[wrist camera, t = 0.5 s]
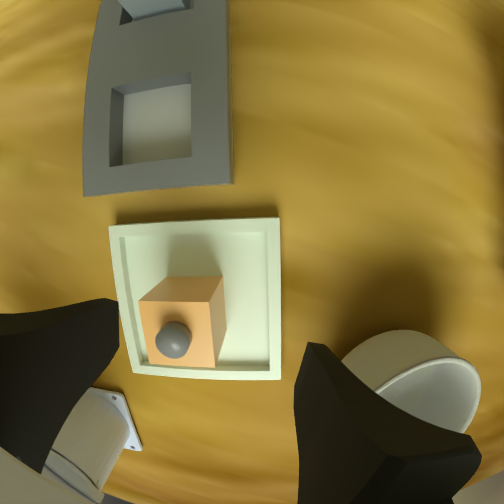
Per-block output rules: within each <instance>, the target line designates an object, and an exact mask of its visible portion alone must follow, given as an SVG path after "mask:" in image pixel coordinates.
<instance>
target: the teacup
mask: <svg viewBox="0 0 504 504" xmlns="http://www.w3.org/2000/svg"><path fill="white" fill-rule="evenodd" d="M341 362H342V363H343V364H344V365H345V366H346V367H347V368H348V369H349V370H350V371H351V372H352V373H353V374H354V375H356V376H357V377H358V378H359V379H360V380H361V381H362V382H363V383H365V384H366V385H367V386H368V387H369V388H370V389H372V390H373V391H374V392H376V393H377V394H378V395H380V396H381V397H383V398H384V399H385V400H387V401H388V402H390V403H391V404H393V405H395V406H396V407H398V408H400V409H402V410H403V411H405V412H407V413H409V414H411V415H413V416H415V417H417V418H419V419H421V420H423V421H426V422H428V423H431V424H433V425H436V426H439V427H441V428H445V429H448V430H452V431H455V432H459V433H464V431H465V430H466V429H467V427H468V426H469V424H470V423H471V421H472V419H473V417H474V415H475V412H476V410H477V407H478V403H479V400H480V394H481V380H480V377H479V374H478V371H477V369H476V368H475V367H474V366H473V365H472V364H471V363H470V362H468V361H467V360H465V359H463V358H460V357H459V356H458V355H456V354H455V353H454V352H453V351H451V350H450V349H449V348H447V347H446V346H444V345H443V344H441V343H440V342H439V341H437V340H435V339H434V338H432V337H430V336H428V335H426V334H424V333H421V332H418V331H414V330H392V331H388V332H384V333H381V334H379V335H376V336H373V337H371V338H369V339H367V340H366V341H364V342H363V343H361V344H359V345H358V346H357V347H355V348H354V349H353V350H352V351H351V352H349V353H348V354H347V355H346V356H345V357H344V358H343V360H342V361H341Z"/></svg>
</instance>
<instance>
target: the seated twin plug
mask: <svg viewBox="0 0 504 504" xmlns="http://www.w3.org/2000/svg"><path fill="white" fill-rule="evenodd" d="M118 2H119V3H120V4H121V5H122V6H123V7H124V8H125V10H126V11H127V12H128V13H129V14H130V15H131V17H132V18H133V19H134V20H135V21H137V20H141V19H145V18H149V17H153V16H157V15H162V14H166V13H171V12H176V11H182V10H187V9H190V0H118Z"/></svg>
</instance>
